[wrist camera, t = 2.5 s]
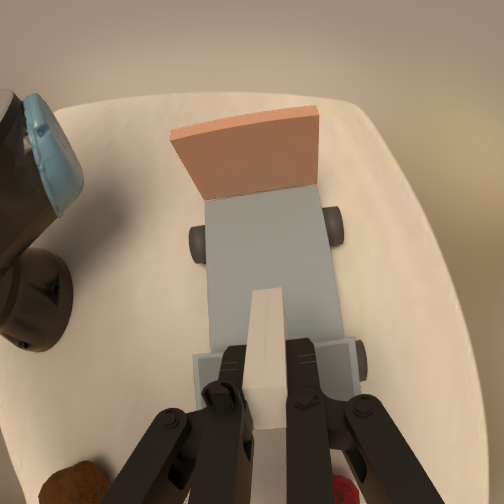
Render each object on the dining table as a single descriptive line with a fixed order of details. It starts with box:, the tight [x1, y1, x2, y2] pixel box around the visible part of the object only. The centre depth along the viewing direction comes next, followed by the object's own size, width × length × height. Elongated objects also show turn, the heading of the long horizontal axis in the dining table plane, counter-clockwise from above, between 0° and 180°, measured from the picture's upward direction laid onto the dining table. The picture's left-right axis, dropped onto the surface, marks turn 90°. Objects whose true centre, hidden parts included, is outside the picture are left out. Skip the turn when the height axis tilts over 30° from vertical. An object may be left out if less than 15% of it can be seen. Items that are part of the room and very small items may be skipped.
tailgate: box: [170, 105, 319, 201], centre depth 27 cm, size 2×12×10 cm, turn 96°
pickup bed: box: [189, 185, 367, 429], centre depth 27 cm, size 22×16×10 cm
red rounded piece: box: [332, 475, 360, 504], centre depth 20 cm, size 6×6×8 cm
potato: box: [38, 461, 109, 504], centre depth 21 cm, size 8×12×9 cm
